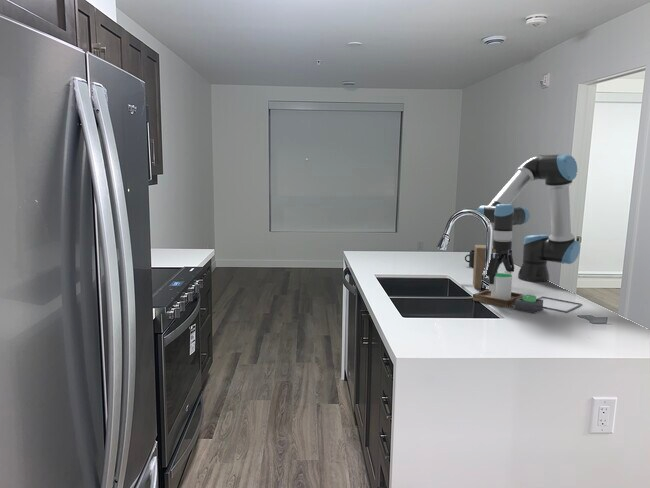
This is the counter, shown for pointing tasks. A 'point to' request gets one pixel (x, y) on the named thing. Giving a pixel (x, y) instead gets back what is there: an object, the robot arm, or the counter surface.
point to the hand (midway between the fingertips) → (499, 288)
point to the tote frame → (563, 301)
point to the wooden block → (479, 264)
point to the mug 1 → (470, 258)
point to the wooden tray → (486, 298)
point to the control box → (529, 305)
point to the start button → (529, 298)
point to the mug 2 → (502, 286)
